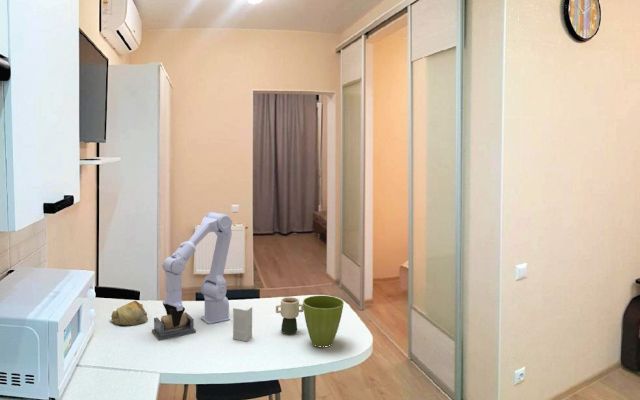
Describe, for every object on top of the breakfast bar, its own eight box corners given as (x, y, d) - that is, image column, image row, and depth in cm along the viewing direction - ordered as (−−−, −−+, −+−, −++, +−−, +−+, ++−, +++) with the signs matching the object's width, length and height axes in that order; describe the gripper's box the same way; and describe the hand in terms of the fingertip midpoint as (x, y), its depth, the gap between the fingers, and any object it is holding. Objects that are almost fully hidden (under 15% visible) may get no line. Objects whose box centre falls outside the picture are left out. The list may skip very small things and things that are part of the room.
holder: (187, 324, 190) (187, 311, 190) (195, 332, 183) (195, 318, 182) (151, 332, 182) (151, 318, 182) (158, 340, 175) (158, 326, 174)
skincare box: (252, 337, 181) (252, 306, 179) (247, 341, 177) (247, 310, 175) (238, 334, 183) (238, 304, 181) (232, 339, 179) (232, 308, 177)
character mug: (301, 328, 191) (302, 296, 190) (304, 335, 184) (305, 302, 183) (274, 329, 189) (274, 297, 187) (276, 336, 182) (277, 303, 180)
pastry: (155, 319, 196) (154, 300, 195) (132, 329, 184) (131, 309, 184) (128, 313, 201) (128, 294, 200) (104, 323, 190) (104, 303, 189)
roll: (181, 323, 187) (181, 310, 186) (186, 327, 182) (186, 314, 182) (161, 327, 182) (160, 314, 182) (165, 331, 178) (164, 317, 178)
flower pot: (297, 337, 182) (298, 296, 180) (334, 333, 186) (336, 294, 184) (307, 354, 168) (308, 310, 166) (347, 350, 172) (349, 307, 170)
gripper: (157, 285, 184) (157, 319, 186) (169, 295, 172) (169, 331, 174) (175, 282, 188) (175, 315, 190) (188, 292, 176) (188, 328, 178)
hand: (173, 323), depth 182 cm, fingers closed on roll, 5 cm apart
